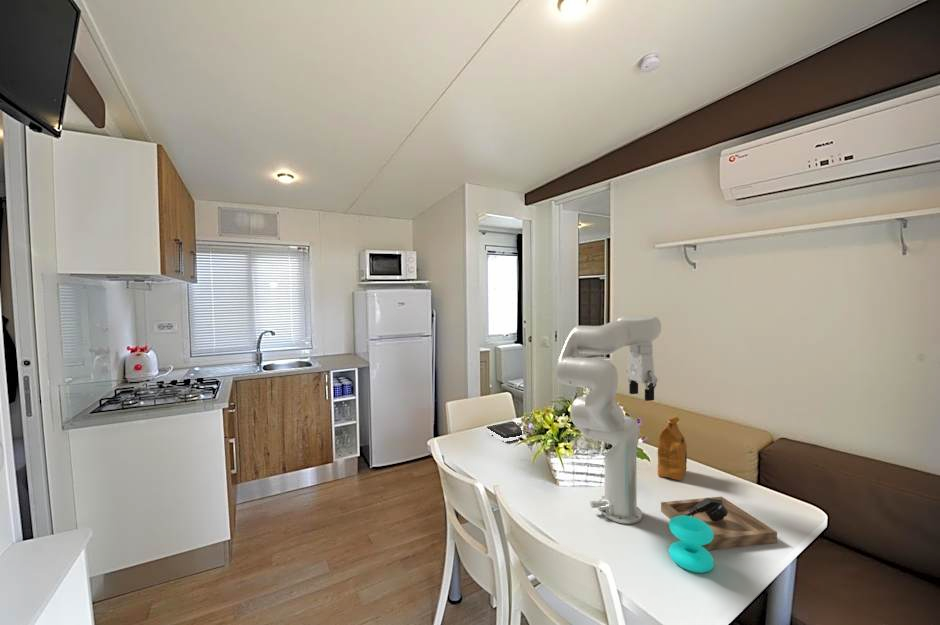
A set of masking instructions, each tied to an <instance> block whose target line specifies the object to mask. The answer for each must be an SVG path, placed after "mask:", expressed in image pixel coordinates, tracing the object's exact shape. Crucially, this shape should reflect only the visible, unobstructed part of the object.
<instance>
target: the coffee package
mask: <svg viewBox="0 0 940 625" xmlns="http://www.w3.org/2000/svg"><path fill="white" fill-rule="evenodd" d="M679 421H680V418H679V417H678V416H677V415H675V416H673V417H671V418H669V419H668V421H667V425H665V427H664V428H663V430H662V431H661V432H660V434H659V438H658V445H657V476H659V477H661V478H670V479H672V480H678V481H681V480H682V479H683V478H684V477H685V475H686V472H687V461H688V460H687V459H688V453H687V452H688V451H687V443H686V440H685V436H684V435H683V433H682V432H681V431H680V429H679V426H678V423H679Z"/></svg>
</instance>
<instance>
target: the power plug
mask: <svg viewBox="0 0 940 625" xmlns="http://www.w3.org/2000/svg"><path fill="white" fill-rule="evenodd" d="M704 498H705V499H704V500H702V501H700V502H698V504H696V505H695V506H696V507H695V506H694V508H693V509H692V508H691V510H689V513H688V514H686V515H684V516H690V515H692V516H694V514H695V515H696V514H698V513H699V512H700V513H703V512H705V513H706V514H707V515H708V517H709V518H710V519H711V520H713V521H718V520H720V519H721V520H722V521H723V523H724V524H727V522H726V521H725V520H724V517H725V516H727V514H728V511H727V509H726V508H725V506H724V505H723V504H722V502H721V501H719V500H718V499H711V498H712V497H704ZM700 513H699V514H700Z"/></svg>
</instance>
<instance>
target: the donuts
mask: <svg viewBox="0 0 940 625" xmlns="http://www.w3.org/2000/svg"><path fill="white" fill-rule="evenodd" d="M668 527H669V530H670V532H671V533H672V534H673V535H674V537H676V538H677V539H678V540H677V541H673V543H671V544H670V545H669V549H668V552H669V555H670V556H669V557H671V559H672V561H673V562H674V563H675V564H677V565H678V566H679V567H681V568H682V569H685V570H687V571H689V572H692V573H693V572H694V573H699V574H700V573H708V572H710V571H711V570H712V569H713V568H714V565H715V564H714V563H715V562H714V558H713V556H712V554H711V553H710V552H709V550H708V551H707V550H706V549H705V548H704V547H702V546H701V545H706V544H709V543H710V542H711V541H712V540H713V537H714V534H713V531H712V529H711V528H710V526H709V525H708V524H706V523H705V522H703V521H702V520H700V519H697V518H694V517H691V516H684V515H680V516H675V517H673V518H672V519H671V520H670V519H669V523H668Z"/></svg>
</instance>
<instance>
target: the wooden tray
mask: <svg viewBox="0 0 940 625" xmlns="http://www.w3.org/2000/svg"><path fill="white" fill-rule="evenodd" d="M705 498H706V497H704V498H703V497H702V498H701V497H700V498H693V499H683V500H682V499H681V500H672V501H661V502H660V512H661V513H663V515H664V516H666V517H667V518H668V519H669V521H670V520H671V519H672V518H673V517H675V516H680V515H686V514H688V513H689V510H691V508H692V509H693V508H694V506H695V505H696V504H698V502H700V501H702V500H704V499H705ZM710 498H711V499H718V500H719V501H721V502H722V504H723V505H724V506H725V508H726V509H727V511H728V514H727V516H725V517H724V520H725V521H726V522H727V524H724V523H723V521H722V520H721V519H720V520H718V521H713V520H711V519H710V518H709V517H708V515H707V514H706V513H705V512H703V513H700V512H699V513H700V514H699V513H698V514H696V515H695V514H694V516H692V515H690V516H691V517H694V518H697V519H700V520H702V521H703V522H705V523H706V524H708V525H709V526H710V528H711V529H712V531H713V534H714V537H713V540H712V541H711V542H710V543H709V544H706V545H701V546H702V547H704V548H705V549H706V550H707V551H708V552H709V551H715V550H716V551H717V550H724V549H725V550H726V549H731V548H732V549H733V548H742V547H750V546H752V547H753V546H757V545H758V546H759V545H760V546H761V545H768V544H777V543H778V531H777V530H775V529H773V528H772V527H771V526H768V525H767V524H766V523H763V522H762V521H760V520H759V519H757V518H756V517H755V516H754V515H751V514H750V513H748V512H746V510H743V509H742V508H740V507H739V506H737V505H735V504H734V503H732V502H731V501H729V500H727V499H726V498H725V497H723V496H712V497H710ZM695 507H696V506H695Z"/></svg>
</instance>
